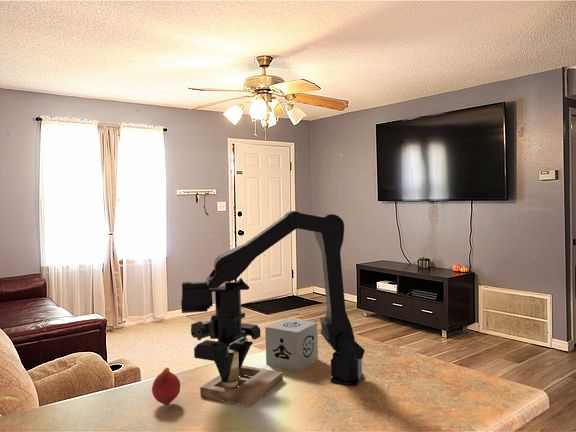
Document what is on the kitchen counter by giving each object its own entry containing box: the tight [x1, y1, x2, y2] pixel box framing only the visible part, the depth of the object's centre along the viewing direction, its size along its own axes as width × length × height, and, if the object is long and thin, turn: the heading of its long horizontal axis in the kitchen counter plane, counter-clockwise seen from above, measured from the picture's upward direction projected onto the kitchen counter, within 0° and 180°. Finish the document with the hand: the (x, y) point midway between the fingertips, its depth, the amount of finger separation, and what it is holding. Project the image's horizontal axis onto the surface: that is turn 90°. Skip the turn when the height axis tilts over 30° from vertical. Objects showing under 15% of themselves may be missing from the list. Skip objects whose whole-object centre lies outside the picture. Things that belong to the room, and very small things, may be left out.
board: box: [200, 364, 284, 407], centre depth 106 cm, size 13×15×2 cm
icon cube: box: [264, 317, 319, 372], centre depth 122 cm, size 10×10×10 cm
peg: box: [221, 349, 239, 390], centre depth 104 cm, size 4×4×8 cm
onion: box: [151, 367, 181, 406], centre depth 98 cm, size 6×6×8 cm
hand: (230, 378), depth 104 cm, fingers closed on peg, 4 cm apart
